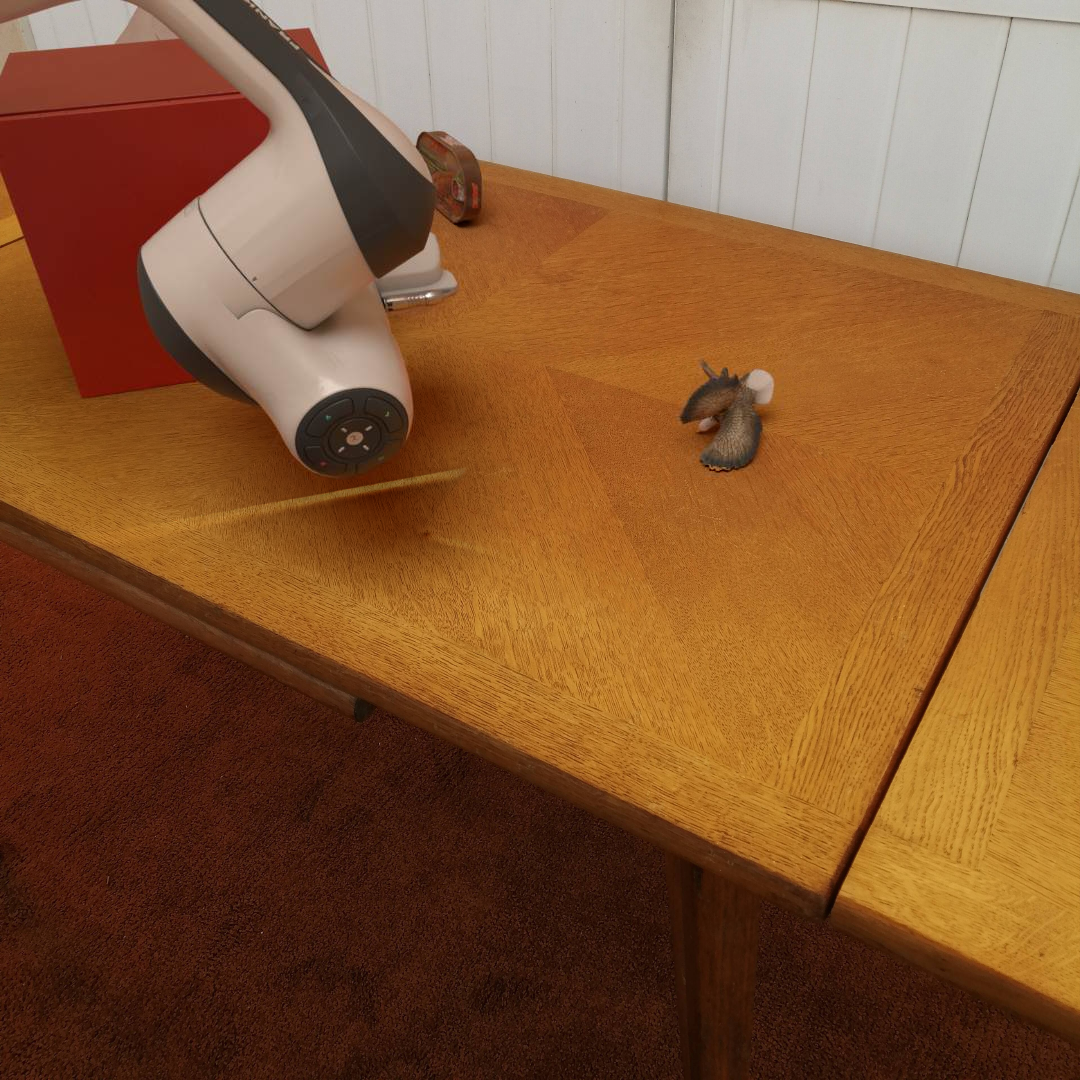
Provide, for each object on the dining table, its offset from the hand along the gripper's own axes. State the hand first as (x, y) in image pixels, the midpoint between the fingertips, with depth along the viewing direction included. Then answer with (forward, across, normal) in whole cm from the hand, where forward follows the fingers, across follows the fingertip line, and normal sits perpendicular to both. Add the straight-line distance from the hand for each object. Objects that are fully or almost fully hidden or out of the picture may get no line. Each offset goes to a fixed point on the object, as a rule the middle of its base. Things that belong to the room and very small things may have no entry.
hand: (300, 239), depth 81 cm
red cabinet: (+16, +8, +14) cm, 23 cm away
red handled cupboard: (+3, +8, +14) cm, 17 cm away
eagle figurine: (-17, -31, +14) cm, 38 cm away
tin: (+38, -20, +15) cm, 45 cm away
